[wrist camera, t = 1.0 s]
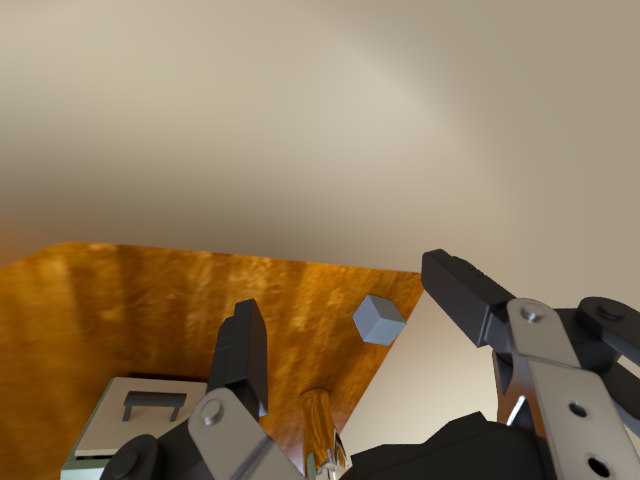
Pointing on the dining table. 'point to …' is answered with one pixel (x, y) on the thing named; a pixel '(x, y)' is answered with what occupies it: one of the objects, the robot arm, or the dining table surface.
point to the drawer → (137, 413)
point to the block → (378, 320)
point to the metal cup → (320, 438)
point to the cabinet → (76, 472)
